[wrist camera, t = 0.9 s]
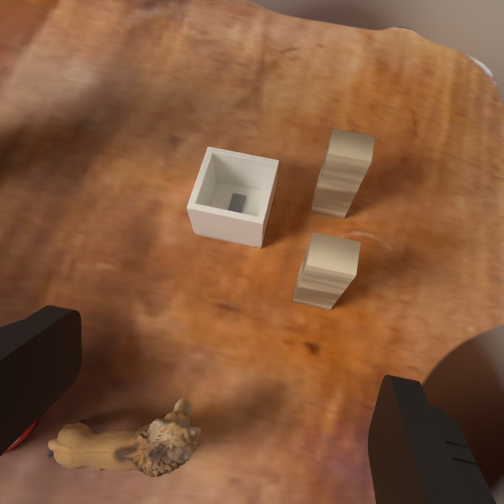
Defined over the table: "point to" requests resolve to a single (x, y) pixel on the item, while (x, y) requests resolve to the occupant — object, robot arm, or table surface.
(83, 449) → the lion figurine
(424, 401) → the robot arm
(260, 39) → the table surface
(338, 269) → the tall square pillar
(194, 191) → the open square box
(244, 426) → the table surface
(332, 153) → the beige rectangular block
